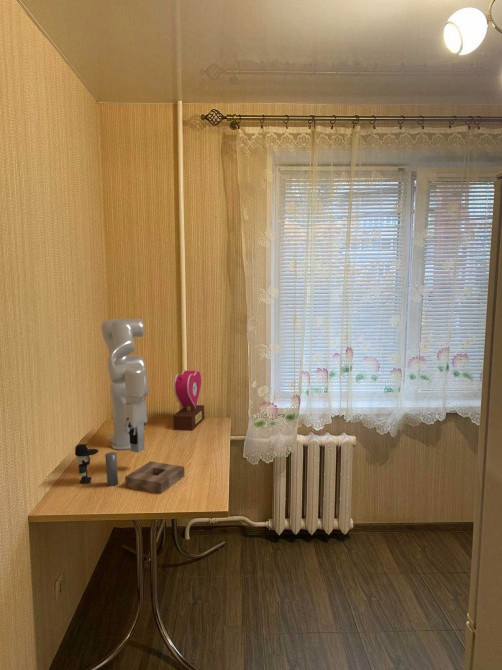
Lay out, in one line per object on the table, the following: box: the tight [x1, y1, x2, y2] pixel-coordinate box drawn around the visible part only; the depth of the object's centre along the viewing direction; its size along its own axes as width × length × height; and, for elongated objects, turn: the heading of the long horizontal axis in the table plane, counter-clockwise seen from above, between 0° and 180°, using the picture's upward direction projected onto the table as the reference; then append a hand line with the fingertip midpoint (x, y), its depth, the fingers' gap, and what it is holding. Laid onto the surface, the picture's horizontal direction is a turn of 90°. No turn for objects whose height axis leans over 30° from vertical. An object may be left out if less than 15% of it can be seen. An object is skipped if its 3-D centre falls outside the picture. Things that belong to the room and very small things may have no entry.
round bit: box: [104, 451, 119, 487], centre depth 178 cm, size 4×4×12 cm
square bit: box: [129, 424, 145, 454], centre depth 192 cm, size 4×4×12 cm
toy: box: [74, 443, 99, 484], centre depth 181 cm, size 8×8×15 cm
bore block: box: [124, 461, 185, 495], centre depth 181 cm, size 16×16×4 cm
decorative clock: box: [172, 369, 206, 432], centre depth 250 cm, size 25×10×30 cm, turn 168°
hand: (137, 441), depth 192 cm, fingers closed on square bit, 4 cm apart
